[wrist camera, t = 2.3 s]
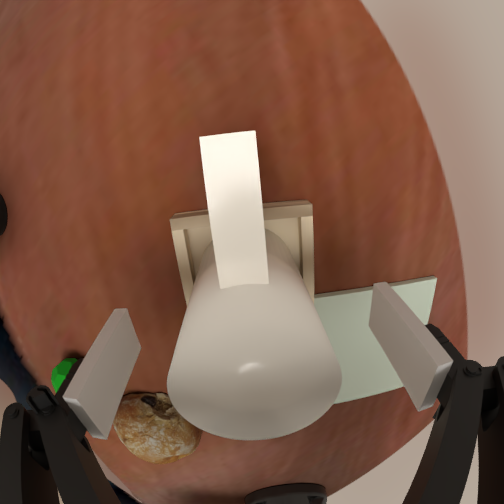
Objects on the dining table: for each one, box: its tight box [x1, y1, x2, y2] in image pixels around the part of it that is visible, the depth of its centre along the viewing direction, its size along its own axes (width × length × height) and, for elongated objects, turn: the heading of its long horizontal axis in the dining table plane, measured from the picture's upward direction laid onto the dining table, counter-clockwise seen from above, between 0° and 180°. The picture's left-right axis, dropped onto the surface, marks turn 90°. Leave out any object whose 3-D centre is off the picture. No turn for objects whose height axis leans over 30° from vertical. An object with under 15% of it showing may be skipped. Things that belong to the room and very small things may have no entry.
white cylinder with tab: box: [167, 131, 342, 440], centre depth 15 cm, size 13×7×12 cm, turn 5°
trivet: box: [314, 276, 437, 404], centre depth 25 cm, size 14×14×1 cm
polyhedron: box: [51, 358, 77, 393], centre depth 23 cm, size 5×5×5 cm
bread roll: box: [113, 393, 202, 464], centre depth 26 cm, size 10×10×8 cm
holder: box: [170, 200, 314, 306], centre depth 21 cm, size 9×9×2 cm
